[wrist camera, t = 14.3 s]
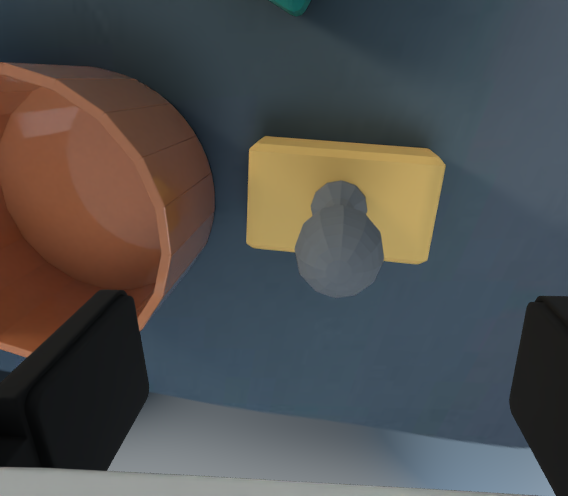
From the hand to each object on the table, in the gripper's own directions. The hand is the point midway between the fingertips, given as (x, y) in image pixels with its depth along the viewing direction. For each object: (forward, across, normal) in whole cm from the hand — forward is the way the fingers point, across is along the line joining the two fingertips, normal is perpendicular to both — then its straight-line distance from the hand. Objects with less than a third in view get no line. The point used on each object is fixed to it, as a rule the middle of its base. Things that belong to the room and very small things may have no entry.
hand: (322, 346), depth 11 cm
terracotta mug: (+17, +16, 0) cm, 24 cm away
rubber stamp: (+17, -1, 0) cm, 17 cm away
